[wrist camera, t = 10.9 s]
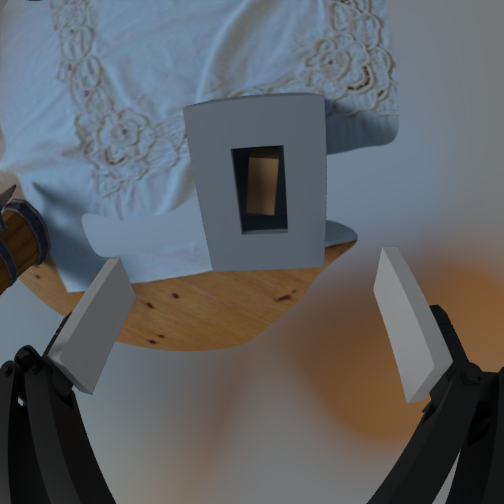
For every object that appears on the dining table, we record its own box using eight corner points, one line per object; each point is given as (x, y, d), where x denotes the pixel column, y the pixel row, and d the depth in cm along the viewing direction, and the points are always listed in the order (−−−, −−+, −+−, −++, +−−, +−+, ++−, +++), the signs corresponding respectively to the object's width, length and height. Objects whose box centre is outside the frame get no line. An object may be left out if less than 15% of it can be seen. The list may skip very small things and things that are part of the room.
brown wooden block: (255, 140, 30) (249, 157, 24) (277, 142, 30) (278, 159, 24) (252, 184, 34) (246, 212, 27) (274, 186, 33) (273, 215, 27)
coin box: (211, 100, 29) (182, 107, 20) (307, 92, 27) (324, 95, 18) (228, 220, 37) (213, 271, 28) (312, 217, 36) (323, 267, 27)
